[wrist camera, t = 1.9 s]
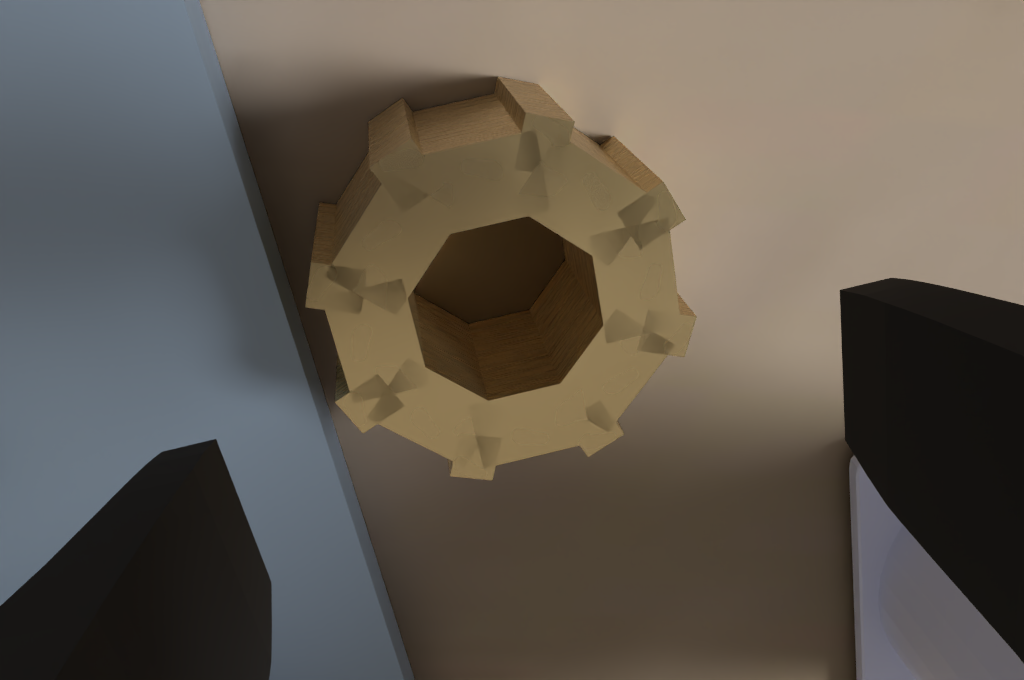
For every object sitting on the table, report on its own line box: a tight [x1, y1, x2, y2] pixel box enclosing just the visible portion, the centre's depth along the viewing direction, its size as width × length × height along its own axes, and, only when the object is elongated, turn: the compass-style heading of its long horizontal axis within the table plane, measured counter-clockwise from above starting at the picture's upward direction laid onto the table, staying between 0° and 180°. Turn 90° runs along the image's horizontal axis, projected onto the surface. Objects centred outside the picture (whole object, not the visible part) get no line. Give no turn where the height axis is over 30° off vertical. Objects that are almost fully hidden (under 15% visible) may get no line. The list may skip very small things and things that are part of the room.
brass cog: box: [305, 77, 696, 480], centre depth 16 cm, size 6×6×3 cm
